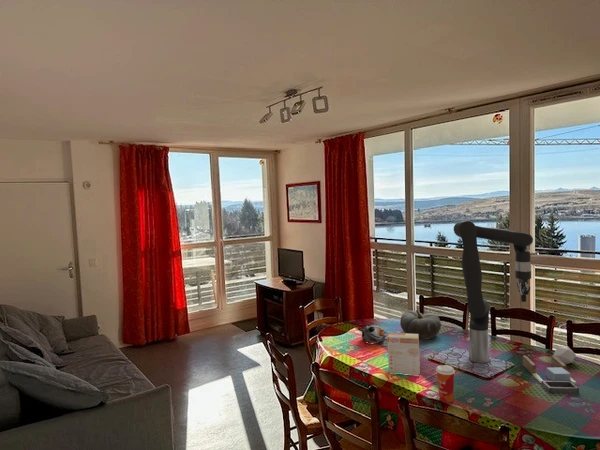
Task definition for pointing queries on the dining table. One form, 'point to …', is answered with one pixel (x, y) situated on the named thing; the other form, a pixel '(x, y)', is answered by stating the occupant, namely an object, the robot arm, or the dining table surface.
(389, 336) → the coffeecake box
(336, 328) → the dining table surface
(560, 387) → the tray
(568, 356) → the die
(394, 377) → the dining table surface
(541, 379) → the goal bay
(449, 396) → the paper cup
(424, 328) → the gourd
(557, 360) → the tunnel
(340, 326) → the dining table surface
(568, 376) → the block
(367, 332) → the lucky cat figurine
